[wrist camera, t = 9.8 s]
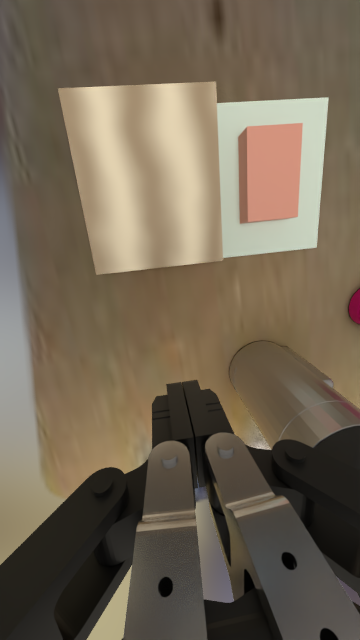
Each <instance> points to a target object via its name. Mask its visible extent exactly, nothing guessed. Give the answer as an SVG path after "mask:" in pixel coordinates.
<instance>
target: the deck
mask: <svg viewBox="0 0 360 640" xmlns="http://www.w3.org/2000/svg"><path fill="white" fill-rule="evenodd" d="M58 91H59V96H60V101H61V106H62V111H63V116H64V120H65V125H66V130H67V135H68V140H69V145H70V149H71V154H72V159H73V164H74V169H75V174H76V178H77V183H78V188H79V193H80V198H81V203H82V207H83V212H84V217H85V222H86V227H87V232H88V237H89V241H90V246H91V251H92V256H93V261H94V266H95V270H96V275H99V274H108V273H117V272H126V271H135V270H144V269H153V268H162V267H170V266H179V265H188V264H197V263H206V262H215V261H223V246H222V221H221V196H220V171H219V145H218V120H217V95H216V82H197V83H174V84H151V85H128V86H105V87H82V88H59V89H58Z"/></svg>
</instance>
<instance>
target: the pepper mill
mask: <svg viewBox="0 0 360 640" xmlns="http://www.w3.org/2000/svg"><path fill="white" fill-rule="evenodd" d="M349 314H350V317H351V318H352V320H353V321H354V322H356V323H358V324H360V289H359V290H358V291H357V292H356V293H355V294H354V295H353V297H352V299H351V301H350V304H349Z"/></svg>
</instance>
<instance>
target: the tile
mask: <svg viewBox="0 0 360 640" xmlns="http://www.w3.org/2000/svg"><path fill="white" fill-rule="evenodd" d="M302 128H303V123H294V124H278V125H262V126H247V127H246V128H245V129H244V131H243V132H242V133H241V134H240V135H239V137H238V156H239V210H240V224H242V223H252V222H262V221H272V220H282V219H289V218H295V217H298V204H299V185H300V166H301V147H302Z"/></svg>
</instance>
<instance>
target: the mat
mask: <svg viewBox="0 0 360 640" xmlns="http://www.w3.org/2000/svg"><path fill="white" fill-rule="evenodd" d="M327 110H328V98H309V99H289V100H270V101H251V102H232V103H217V120H218V145H219V171H220V196H221V221H222V246H223V258H226V257H236V256H245V255H254V254H263V253H272V252H281V251H290V250H299V249H308V248H317V236H318V223H319V210H320V198H321V185H322V173H323V160H324V147H325V135H326V122H327ZM294 123H303V128H302V147H301V166H300V185H299V204H298V217H295V218H289V219H282V220H272V221H262V222H252V223H242V224H240V210H239V156H238V137H239V135H240V134H241V133H242V132H243V131H244V129H245V128H246V127H247V126H262V125H278V124H294Z"/></svg>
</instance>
